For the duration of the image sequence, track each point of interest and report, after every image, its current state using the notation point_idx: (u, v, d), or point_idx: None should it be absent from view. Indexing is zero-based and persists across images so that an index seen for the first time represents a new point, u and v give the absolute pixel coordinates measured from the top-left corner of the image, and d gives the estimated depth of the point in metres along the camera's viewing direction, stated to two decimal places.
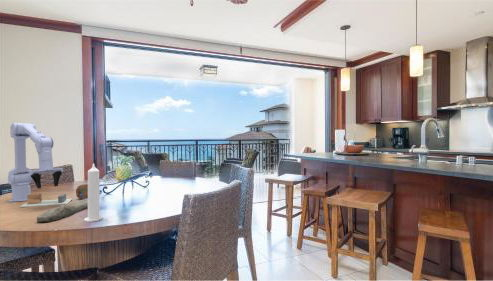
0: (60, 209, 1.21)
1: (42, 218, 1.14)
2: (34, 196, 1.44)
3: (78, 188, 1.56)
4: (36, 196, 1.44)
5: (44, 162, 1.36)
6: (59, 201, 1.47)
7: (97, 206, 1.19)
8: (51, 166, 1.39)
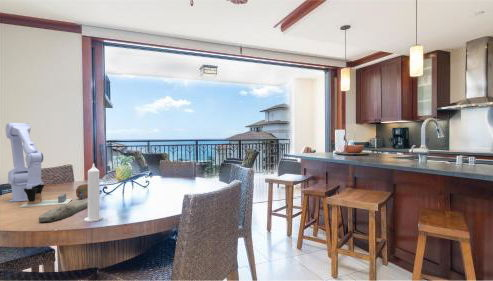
0: (62, 209, 1.21)
1: (44, 218, 1.14)
2: None
3: (78, 188, 1.56)
4: (36, 196, 1.44)
5: (38, 176, 1.45)
6: (59, 201, 1.47)
7: (97, 206, 1.19)
8: None
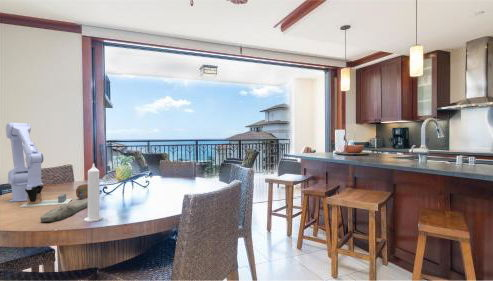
0: (63, 209, 1.21)
1: (47, 218, 1.14)
2: None
3: (78, 188, 1.56)
4: (36, 196, 1.44)
5: (38, 177, 1.45)
6: (59, 201, 1.47)
7: (97, 206, 1.19)
8: None
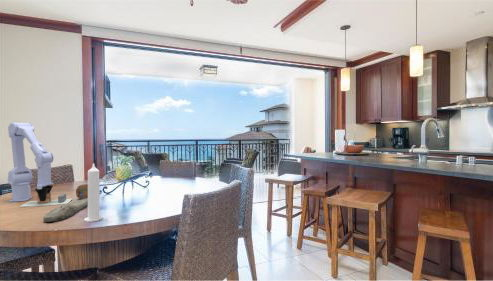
0: (66, 209, 1.22)
1: (51, 218, 1.14)
2: None
3: (78, 188, 1.56)
4: (46, 195, 1.46)
5: (48, 177, 1.46)
6: (59, 201, 1.47)
7: (97, 206, 1.19)
8: None
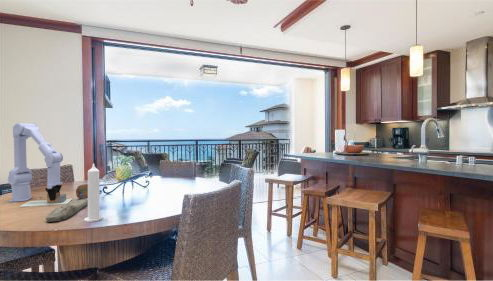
0: (68, 208, 1.22)
1: (54, 218, 1.15)
2: None
3: (78, 188, 1.56)
4: None
5: (57, 176, 1.48)
6: (59, 201, 1.47)
7: (97, 206, 1.19)
8: None
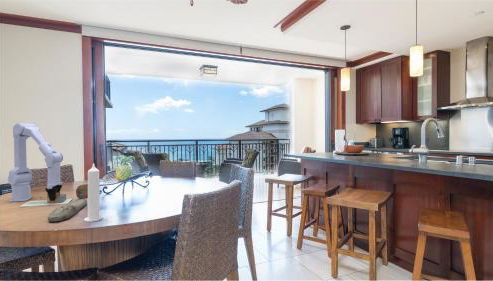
0: (69, 208, 1.22)
1: (56, 217, 1.15)
2: None
3: (78, 188, 1.56)
4: (56, 195, 1.47)
5: (58, 176, 1.48)
6: (59, 201, 1.47)
7: (97, 206, 1.19)
8: None
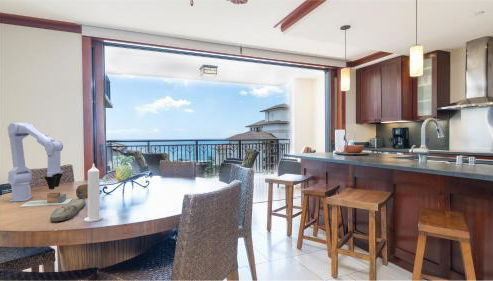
0: (71, 208, 1.23)
1: (59, 217, 1.15)
2: (54, 195, 1.47)
3: (78, 188, 1.56)
4: (56, 195, 1.47)
5: (58, 165, 1.48)
6: (59, 201, 1.47)
7: (97, 206, 1.19)
8: None
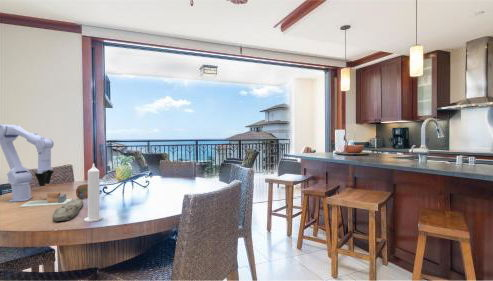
0: (73, 208, 1.23)
1: (63, 217, 1.16)
2: (54, 195, 1.47)
3: (78, 188, 1.56)
4: (56, 195, 1.47)
5: (48, 162, 1.50)
6: (59, 201, 1.47)
7: (97, 206, 1.19)
8: None
